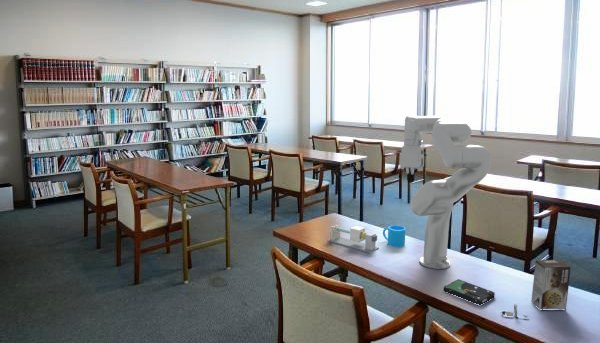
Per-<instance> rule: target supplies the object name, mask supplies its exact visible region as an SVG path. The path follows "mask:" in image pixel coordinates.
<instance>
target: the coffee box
mask: <svg viewBox="0 0 600 343" xmlns="http://www.w3.org/2000/svg"><path fill="white" fill-rule="evenodd" d="M534 263H535V264H534V272H533V273H534V275H533V282H532V283H533V284H532V294H531V301H530V302H532V303H533V304H534V305H535V306H537V307H538V308H539V309H542V310H543V309H566V310H567V303H568V296H569V295H568V294H569V287H570V286H569V285H570V277H571V269H572V268H571V267H572V266H570V265H568V264H567V263H566V262H564V261H563V260H562V259H541V260H540V259H536V260H535V262H534ZM532 303H531V304H532ZM533 304H532V305H533ZM534 305H533V306H534ZM537 307H536V308H537ZM538 308H537V309H538ZM539 309H538V310H539Z"/></svg>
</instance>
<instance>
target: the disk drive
mask: <svg viewBox="0 0 600 343" xmlns="http://www.w3.org/2000/svg"><path fill="white" fill-rule="evenodd" d="M443 291H445V292H448V293H450V294H453V295H456V296H458V297H461V298H463V299H466V300H468V301H471V302H473V303H476V304H479V305H481V304H483V303H485V302H487V301H488V302H490V301H491V300H490V299H492V298H493V299H495V294H496V293H495V292H494V291H492V290H490V289H487V288H483V287H481V286H478V285H475V284H473V283H471V282H467V281H465V280H462V279H456V280H453V281H451V282H450V283H449V284H446V285H444V287H443ZM443 291H442V292H443ZM445 292H444V293H445ZM448 293H447V294H448ZM450 294H449V295H450ZM453 295H452V296H453ZM458 297H457V298H458ZM461 298H460V299H461ZM463 299H462V300H463ZM493 299H492V300H493ZM466 300H465V301H466ZM489 300H490V301H489ZM468 301H467V302H468ZM471 302H470V303H471ZM488 302H487V303H488ZM473 303H472V304H473ZM476 304H475V305H476ZM485 304H486V303H485ZM483 305H484V304H483ZM481 306H482V305H481Z"/></svg>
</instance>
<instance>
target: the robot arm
mask: <svg viewBox="0 0 600 343" xmlns="http://www.w3.org/2000/svg"><path fill="white" fill-rule="evenodd" d="M471 129H472V128H471V127H470V125H469V124H468V123H465V122H463V121H459V120H454V119H452V120H451V119H449V117H448V118H447V117H446V116H445V117H444V116H438V115H421V116H420V115H408V116H406V117H405V119H404V134H403V135H404V140H403V145H402V147H401V150H400V158H399V159H400V160H399V164H400V166H399V168H400V169H401V170H404V171H405V173H406V176H407V177H406V181H407V183H409V184H412V183H414V182H415V180H416V179H415V178H416V177H415V175H416V174H417V172H422V171H423V170H424V168H423V167H424V165H425V155H424V154H425V153H424V147H423V145H424V144H425V142H424V141H423V140H422V134H431V136H432V140H433V143H434V145H435V147H436V149H437V152H438V154H439V156H440V158H441V161H442V163H443V164H444V166H445V167H447V168H449V169H451V170H452V169H456V171H455V172H454V173H453V174H452V175H450V177H448V178H446V179H433V180H432V179H431V180H429V181H427V182H425V183H424V184H423V185H421V187H420V188H419V189H418V190H417V191H415V193H414V194H413V196H412V198H411V200H410V210H411V211H412V213H413V214H414V215H416V216H418V217H423V216H424V217H425V216H428V217H427V219H426V221H425V224H424V225H425V228H424V241H423V242H424V244H423V256H421V257H420V258H419V264H420V265H421V266H423V267H425V268H429V269H433V270H434V269H435V270H444V269H447V268H449V267H450V265H451V262H450V261H449V259H448V256H447V255H448V243H449V242H448V241H449V231H450V219H451V214H452V211H453V208H454V203H456V202H457V201H459V200H460V199H461V198H462V197H463V196H465V195H466V194H467V193H468V192H470V190H471V189H472V188H474V187H475V186H476V185H477V184H479V183H480V182H481V181H483V179H484V178H485V177H486V176H487V175H488V174H489V171H490V169H491V165H492V154H491V151H490V150H489V149H488V148H487V147H485V146H482V145H476V144H465V143H466V142H467V141H468V140H470V138H471V137H472V130H471ZM463 143H464V144H465V145H460V144H463ZM458 144H459V145H458ZM457 169H458V170H457Z"/></svg>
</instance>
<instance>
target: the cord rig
mask: <svg viewBox="0 0 600 343" xmlns="http://www.w3.org/2000/svg"><path fill="white" fill-rule="evenodd" d="M341 233H345V234H349V235H350V229H346V228H342V227H340V225H339V224H334V226H333V225H331V227H330V230H329V239H327V242H328V243H332V244H336V245H339V246H343V247H346V248H350V249H353V250H356V251H361V252H364V253H368V254H371V253H373V252H375V251H376V250H379V249H380V248H379V247H378V246H376V243H377V241H378V235H377V233H375V232H368V233H367V232H366V231H365V232H363V233H360V237H361V238H362V239H365V240H364V241H365V243H364V242H362V241H361V242H359V243H358V242H355V241H351V240H350V238H345V237H343V236H341Z"/></svg>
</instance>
